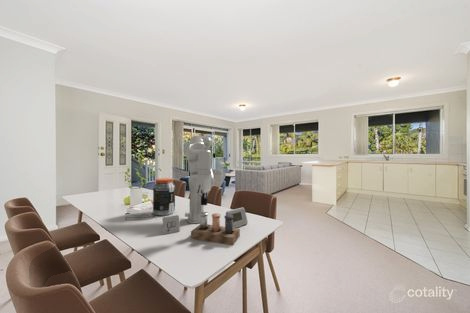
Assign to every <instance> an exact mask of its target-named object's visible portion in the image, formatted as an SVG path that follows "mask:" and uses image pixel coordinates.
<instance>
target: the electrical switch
mask: <svg viewBox="0 0 470 313" xmlns="http://www.w3.org/2000/svg"><path fill="white" fill-rule="evenodd" d="M180 229H181V227H180V216H179V214H176V215H170V216H169V215H168V216H165V217H164V216H163V217H162V230H163V231H162V234H163V235H167V234H168V235H169V234H174V233H177V232H180V231H181V230H180Z"/></svg>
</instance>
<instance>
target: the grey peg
mask: <svg viewBox="0 0 470 313" xmlns="http://www.w3.org/2000/svg"><path fill="white" fill-rule="evenodd" d="M208 216H209V212H207V211H204V212H201V213H200V223H199V225H200V230H207V224H208Z"/></svg>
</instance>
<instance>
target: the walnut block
mask: <svg viewBox="0 0 470 313" xmlns="http://www.w3.org/2000/svg"><path fill="white" fill-rule="evenodd" d="M240 234H241V229H240V228H233V230H232V234H226V233H225V226H223V225H220V231H219V232H212V224H208V223H207V230H200V224H199V225H197V226H196V227H195V228H193V229H192V230H191V231H190V239H191V240H198V241H203V242H204V241H205V242H209V243H216V244H221V245H222V244H223V245H226V246H227V245H228V246H232V247H233V246H234V245H235V244H236V242H237V241H238V239H239V238H240V236H241V235H240Z"/></svg>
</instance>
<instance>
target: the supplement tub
mask: <svg viewBox="0 0 470 313" xmlns="http://www.w3.org/2000/svg"><path fill="white" fill-rule="evenodd" d="M152 191H153V192H152V197H153V198H152V213H153V212H154V213H153V214H154V215H155V216H169V215H172V214H174V213H175V212H176V185H175V183H174V179H173V178H167V177H166V178H156V179H155V184H154V185H153V189H152Z"/></svg>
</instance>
